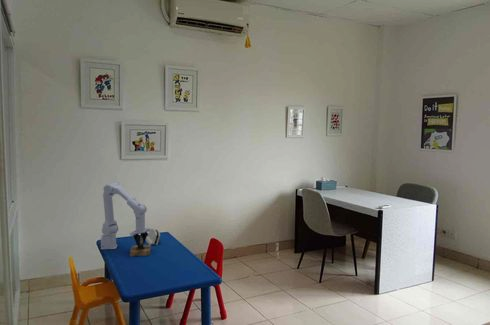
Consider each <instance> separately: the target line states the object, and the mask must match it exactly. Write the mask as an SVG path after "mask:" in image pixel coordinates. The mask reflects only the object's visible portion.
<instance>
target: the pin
mask: <svg viewBox="0 0 490 325" xmlns="http://www.w3.org/2000/svg"><path fill="white" fill-rule="evenodd" d="M140 236H141V235H140ZM143 245H144V244H143V236H141V237H140V244H139V246H138V245H137V246H138V248H142V247H143Z"/></svg>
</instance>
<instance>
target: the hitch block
mask: <svg viewBox="0 0 490 325" xmlns="http://www.w3.org/2000/svg"><path fill="white" fill-rule="evenodd" d="M151 246H152V244H151V245H149V244H143V247H142V248H138V245H131V247H130V250H129V257H140V256H142V257H143V256H145V257H146V256H148V257H149V256H150V254H151V250H152V247H151Z"/></svg>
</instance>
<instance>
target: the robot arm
mask: <svg viewBox="0 0 490 325" xmlns="http://www.w3.org/2000/svg"><path fill="white" fill-rule="evenodd" d="M115 195H119V197H121V198H123V199H124V200H125V202H126V204H127V205H128V206H129V207H130V208H131V209H132V210H133V213H134V217H135V230H133V231H131V232H129V233H130V234H129V236H130V237H133V239H134V241H135V244H136V245H135V246H139V244H140V237H141V236H143V245H145V243H146V237H147V236H148V234H149V231H150V229H151V228H150V227H147V228H146V213H147V210H148V209H147V207H146V205H145V204H142V203H140V202H139V201H138V200H137V199H136V197H133V196H132V197H131V196H130V194H128V193H127V191H126V190H125V189H124V188H123V185H122V184H121V183H119V182H113V183H108V184H107V183H106V185H104V186H103V195H102V197H103V209H104V220H105V221H104V222H103V223H102V228H101V233H102V234H101V236H100V250H116V249H117V247H118V244H117V232H118V231H119V226H118V223H117V222H118V221H116V220H115V216H114V205H113V196H115Z"/></svg>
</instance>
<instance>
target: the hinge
mask: <svg viewBox="0 0 490 325" xmlns="http://www.w3.org/2000/svg"><path fill="white" fill-rule="evenodd" d="M160 237H161V233H160V231H159V230H158V229H156V228H150V231H148V235H147V237H146V240H145V242H146V243H147V245H151V246H152V245H156V246H158V244H159V241H160Z"/></svg>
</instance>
